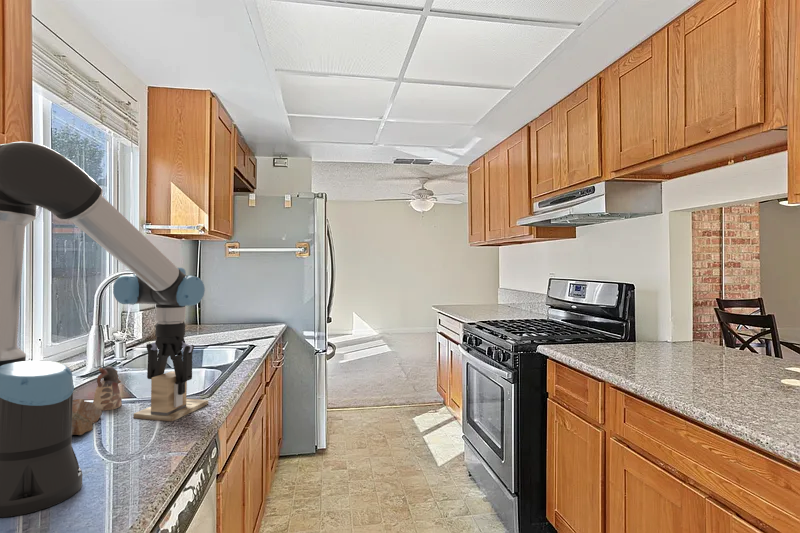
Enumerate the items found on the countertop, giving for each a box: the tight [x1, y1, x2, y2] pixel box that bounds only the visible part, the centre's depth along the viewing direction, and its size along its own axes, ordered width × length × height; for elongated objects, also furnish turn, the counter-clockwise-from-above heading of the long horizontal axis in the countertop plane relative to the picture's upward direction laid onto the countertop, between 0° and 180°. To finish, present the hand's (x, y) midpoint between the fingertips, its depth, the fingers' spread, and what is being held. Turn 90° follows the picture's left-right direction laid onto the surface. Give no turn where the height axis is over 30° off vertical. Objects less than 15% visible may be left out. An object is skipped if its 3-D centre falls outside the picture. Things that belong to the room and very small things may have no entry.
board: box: [133, 398, 209, 422], centre depth 131 cm, size 16×12×1 cm
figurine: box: [92, 365, 123, 412], centre depth 134 cm, size 7×7×12 cm
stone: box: [72, 398, 103, 436], centre depth 117 cm, size 17×9×10 cm, turn 16°
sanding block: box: [150, 370, 188, 416], centre depth 128 cm, size 8×5×10 cm, turn 169°
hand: (169, 405), depth 128 cm, fingers closed on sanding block, 5 cm apart
